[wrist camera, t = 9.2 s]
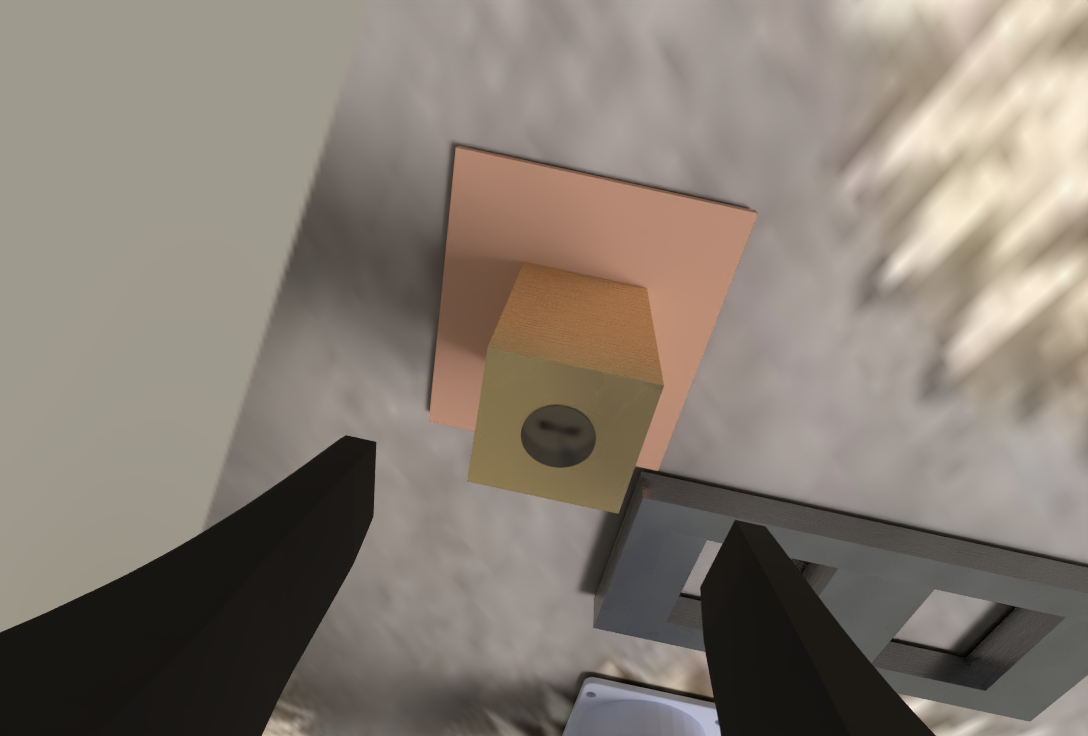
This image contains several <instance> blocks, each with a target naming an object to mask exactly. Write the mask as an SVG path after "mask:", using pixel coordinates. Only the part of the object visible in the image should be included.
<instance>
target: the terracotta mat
mask: <svg viewBox="0 0 1088 736" xmlns="http://www.w3.org/2000/svg"><path fill="white" fill-rule="evenodd" d="M757 215H758V213H757V212H756V211H755V210H751V209H747V208H742V207H738V206H733V205H729V204H724V203H719V202H715V201H710V200H706V199H701V198H696V197H692V196H687V195H683V194H678V193H674V192H669V191H664V190H660V189H655V188H651V187H646V186H642V185H637V184H632V183H628V182H623V181H619V180H614V179H609V178H605V177H600V176H596V175H591V174H587V173H582V172H577V171H573V170H568V169H564V168H559V167H555V166H550V165H545V164H541V163H536V162H532V161H527V160H522V159H518V158H513V157H509V156H504V155H500V154H495V153H490V152H486V151H481V150H477V149H472V148H468V147H463V146H458V147H456V151H455V161H454V171H453V181H452V191H451V201H450V212H449V222H448V232H447V242H446V252H445V262H444V273H443V283H442V293H441V303H440V313H439V323H438V333H437V344H436V354H435V364H434V374H433V384H432V394H431V405H430V415H429V422H434V423H438V424H443V425H448V426H452V427H457V428H462V429H466V430H471V431H475V428H476V421H477V414H478V408H479V401H480V395H481V388H482V381H483V375H484V368H485V362H486V355H487V348H488V345H489V343H490V341H491V338H492V336H493V334H494V331H495V329H496V327H497V324H498V322H499V319H500V317H501V315H502V312H503V310H504V308H505V305H506V303H507V301H508V298H509V296H510V294H511V291H512V289H513V286H514V284H515V282H516V279H517V277H518V275H519V272H520V270H521V268H522V265H523V263H524V262H529V263H533V264H538V265H543V266H547V267H552V268H557V269H561V270H566V271H571V272H575V273H580V274H584V275H589V276H594V277H598V278H603V279H608V280H612V281H617V282H622V283H626V284H631V285H635V286H640V287H645V288H647V291H648V297H649V303H650V308H651V314H652V320H653V325H654V331H655V337H656V342H657V348H658V354H659V359H660V365H661V370H662V376H663V382H664V387H663V390H662V393H661V396H660V399H659V401H658V404H657V407H656V410H655V413H654V415H653V418H652V421H651V424H650V427H649V429H648V432H647V435H646V438H645V441H644V443H643V446H642V449H641V452H640V455H639V458H638V460H637V463H636V466H637V467H642V468H647V469H651V470H656V471H658V469H659V467H660V464H661V462H662V459H663V456H664V454H665V451H666V449H667V446H668V444H669V441H670V438H671V436H672V433H673V431H674V428H675V426H676V423H677V420H678V418H679V415H680V413H681V410H682V408H683V405H684V402H685V400H686V397H687V395H688V392H689V390H690V387H691V384H692V382H693V379H694V377H695V374H696V371H697V369H698V366H699V364H700V361H701V359H702V356H703V353H704V351H705V348H706V346H707V343H708V341H709V338H710V335H711V333H712V330H713V328H714V325H715V323H716V320H717V317H718V315H719V312H720V310H721V307H722V305H723V302H724V299H725V297H726V294H727V292H728V289H729V287H730V284H731V281H732V279H733V276H734V274H735V271H736V269H737V266H738V263H739V261H740V258H741V256H742V253H743V251H744V248H745V245H746V243H747V240H748V238H749V235H750V233H751V230H752V227H753V225H754V222H755V220H756V217H757Z"/></svg>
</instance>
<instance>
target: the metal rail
mask: <svg viewBox="0 0 1088 736" xmlns="http://www.w3.org/2000/svg"><path fill="white" fill-rule="evenodd" d="M735 520H739V521H743V522H748V523H753V524H757V525H762V526H766V528H767V529H768V530H769V531H770V533H771V534H772V535H773V537H774V538H775V539H776V540H777V542H778V543H779V544H780V546H781V547H782V548H783V550H784V551H785V552H786V554H787V555H788V556H789V558H793V559H798V560H802V561H807V562H809V564H808V565H807V567H806V568H805V570H804V571H803V573H802V575H803V577H804V578H805V579H806V581H807V582H808V583H809V585H810V586H811V587H812V589H813V590H814V591H815V593H816V594H817V595H818V597H819V598H820V599H821V601H822V602H823V603H824V605H825V606H826V607H827V608H828V610H829V611H830V612H831V614H832V615H833V616H834V618H835V619H836V620H837V621H838V623H839V624H840V625H841V627H842V628H843V629H844V630H845V632H846V633H847V634H848V635H849V637H850V638H851V639H852V640H853V642H854V643H855V644H856V645H857V647H858V648H859V649H860V650H861V651H862V653H863V654H864V655H865V656H866V658H867V659H868V660H869V661H870V662H871V663H872V665H873V666H874V667H875V668H876V669H877V671H878V672H879V673H880V674H881V675H882V676H883V678H884V679H885V680H886V681H887V682H888V684H889V685H890V686H891V687H892V688H893V690H894V691H895V692H896V693H899V694H904V695H909V696H913V697H918V698H923V699H927V700H932V701H937V702H941V703H946V704H951V705H955V706H960V707H965V708H969V709H974V710H979V711H983V712H988V713H993V714H997V715H1002V716H1006V717H1011V718H1016V719H1020V720H1025V721H1031V720H1033V719H1034V718H1035V717H1036V716H1038V715H1039V714H1040V713H1041V712H1042V711H1044V710H1045V709H1046V708H1047V707H1049V706H1050V705H1051V704H1052V703H1054V702H1055V701H1056V700H1057V699H1059V698H1060V697H1061V696H1062V695H1063V694H1065V693H1066V692H1067V691H1068V690H1070V689H1071V688H1072V687H1073V686H1075V685H1076V684H1077V683H1078V682H1080V681H1081V680H1082V679H1083V678H1084V677H1086V676H1087V675H1088V568H1087V567H1082V566H1078V565H1073V564H1068V563H1064V562H1059V561H1055V560H1050V559H1045V558H1041V557H1036V556H1031V555H1027V554H1022V553H1018V552H1013V551H1008V550H1004V549H999V548H994V547H990V546H985V545H981V544H976V543H971V542H967V541H962V540H957V539H953V538H948V537H944V536H939V535H934V534H930V533H925V532H920V531H916V530H911V529H907V528H902V527H897V526H893V525H888V524H883V523H879V522H874V521H870V520H865V519H860V518H856V517H851V516H846V515H842V514H837V513H832V512H828V511H823V510H819V509H814V508H809V507H805V506H800V505H795V504H791V503H786V502H782V501H777V500H772V499H768V498H763V497H758V496H754V495H749V494H745V493H740V492H735V491H731V490H726V489H721V488H717V487H712V486H708V485H703V484H698V483H694V482H689V481H684V480H680V479H675V478H671V477H666V476H661V475H657V474H652V473H647V472H643V471H641V472H640V475H639V478H638V481H637V483H636V486H635V489H634V492H633V494H632V497H631V500H630V502H629V505H628V508H627V511H626V513H625V516H624V519H623V521H622V524H621V527H620V530H619V532H618V535H617V538H616V540H615V543H614V546H613V549H612V551H611V554H610V557H609V559H608V562H607V565H606V568H605V570H604V573H603V576H602V579H601V581H600V584H599V587H598V589H597V592H596V595H595V598H594V621H593V628H597V629H601V630H606V631H611V632H615V633H620V634H625V635H629V636H634V637H639V638H643V639H648V640H653V641H657V642H662V643H667V644H671V645H676V646H681V647H685V648H690V649H694V650H699V651H704V652H706V651H705V645H704V640H703V627H702V612H701V601H699V600H694V599H690V598H685V597H680V596H679V595H680V593H681V591H682V589H683V587H684V585H685V583H686V581H687V579H688V577H689V575H690V573H691V571H692V569H693V567H694V565H695V563H696V561H697V559H698V557H699V555H700V553H701V551H702V548H703V546H704V544H705V542H706V540H709V541H714V542H719V543H723V542H724V540H725V538H726V536H727V534H728V532H729V530H730V528H731V527H732V525H733V523H734V521H735ZM934 589H937V590H941V591H946V592H951V593H955V594H960V595H964V596H969V597H974V598H978V599H983V600H988V601H992V602H997V603H1002V604H1006V605H1011V606H1015V607H1016V608H1015V609H1014V610H1013V611H1012V612H1011V613H1010V614H1009V615H1008V616H1007V617H1006V618H1005V619H1004V620H1003V621H1002V622H1001V623H1000V624H999V625H998V626H997V627H996V628H995V629H994V630H993V631H992V632H991V633H990V634H989V635H988V636H987V637H986V638H985V639H984V640H983V641H982V642H981V643H980V644H979V645H978V646H977V647H976V648H975V649H974V650H973V651H972V652H971V653H970V654H969V655H968V656H967V657H966V658H964V657H959V656H955V655H950V654H945V653H941V652H936V651H931V650H927V649H922V648H917V647H913V646H908V645H904V644H899V643H894V642H890V641H891V639H892V638H893V637H894V636H895V635H896V634H897V632H898V631H899V630H900V629H901V628H902V627H903V625H904V624H905V623H906V622H907V621H908V620H909V618H910V617H911V616H912V615H913V614H914V613H915V611H916V610H917V609H918V608H919V607H920V606H921V604H922V603H923V602H924V601H925V600H926V599H927V597H928V596H929V595H930V594H931V593H932V592H933V590H934Z"/></svg>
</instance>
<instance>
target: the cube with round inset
mask: <svg viewBox="0 0 1088 736" xmlns="http://www.w3.org/2000/svg"><path fill="white" fill-rule="evenodd" d="M663 387H664V382H663V376H662V370H661V365H660V359H659V354H658V348H657V342H656V337H655V331H654V325H653V320H652V314H651V308H650V303H649V297H648V291H647V288H645V287H640V286H635V285H631V284H626V283H622V282H617V281H612V280H608V279H603V278H598V277H594V276H589V275H584V274H580V273H575V272H571V271H566V270H561V269H557V268H552V267H547V266H543V265H538V264H533V263H529V262H524V263H523V265H522V268H521V270H520V272H519V275H518V277H517V279H516V282H515V284H514V286H513V289H512V291H511V294H510V296H509V298H508V301H507V303H506V305H505V308H504V310H503V312H502V315H501V317H500V319H499V322H498V324H497V327H496V329H495V331H494V334H493V336H492V338H491V341H490V343H489V345H488V348H487V355H486V362H485V368H484V375H483V381H482V388H481V395H480V401H479V408H478V414H477V421H476V428H475V434H474V441H473V447H472V454H471V461H470V467H469V474H468V480H467V481H468V482H473V483H477V484H482V485H487V486H491V487H496V488H501V489H505V490H510V491H515V492H519V493H524V494H529V495H533V496H538V497H543V498H547V499H552V500H557V501H561V502H566V503H571V504H575V505H580V506H585V507H589V508H594V509H599V510H603V511H608V512H613V513H617V514H619V511H620V508H621V505H622V502H623V500H624V497H625V494H626V491H627V488H628V486H629V483H630V480H631V477H632V474H633V472H634V469H635V466H636V463H637V460H638V458H639V455H640V452H641V449H642V446H643V443H644V441H645V438H646V435H647V432H648V429H649V427H650V424H651V421H652V418H653V415H654V413H655V410H656V407H657V404H658V401H659V399H660V396H661V393H662V390H663Z"/></svg>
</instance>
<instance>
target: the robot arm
mask: <svg viewBox="0 0 1088 736" xmlns="http://www.w3.org/2000/svg"><path fill="white" fill-rule="evenodd" d="M375 462H376V442H374V441H370V440H365V439H360V438H356V437H351V436H347V435H346V436H344V437H342V438H341V439H339V440H338V441H337V442H335V443H334V444H332V445H331V446H330V447H328V448H327V449H326V450H324V451H323V452H321V453H320V454H319V455H317V456H316V457H315V458H313V459H312V460H310V461H309V462H308V463H306V464H305V465H304V466H302V467H301V468H299V469H298V470H297V471H295V472H294V473H292V474H291V475H290V476H288V477H287V478H285V479H284V480H282V481H281V482H280V483H278V484H277V485H275V486H274V487H272V488H271V489H269V490H268V491H266V492H265V493H263V494H262V495H261V496H259V497H258V498H256V499H255V500H253V501H252V502H250V503H249V504H247V505H246V506H244V507H243V508H241V509H239V510H238V511H236V512H235V513H233V514H231V515H230V516H228V517H227V518H225V519H223V520H222V521H220V522H219V523H217V524H215V525H214V526H212V527H210V528H209V529H207V530H206V531H204V532H202V533H201V534H199V535H197V536H196V537H194V538H192V539H191V540H189V541H187V542H185V543H184V544H182V545H181V546H179V547H177V548H175V549H173V550H171V551H170V552H168V553H166V554H164V555H163V556H161V557H159V558H157V559H155V560H153V561H151V562H149V563H148V564H146V565H144V566H142V567H140V568H138V569H137V570H134V571H133V572H131V573H129V574H127V575H125V576H123V577H121V578H119V579H117V580H115V581H112V582H110V583H108V584H106V585H104V586H102V587H100V588H98V589H96V590H94V591H92V592H89V593H87V594H85V595H83V596H81V597H79V598H77V599H74V600H72V601H70V602H68V603H66V604H64V605H62V606H60V607H58V608H55V609H53V610H51V611H49V612H47V613H45V614H42V615H40V616H38V617H36V618H33V619H31V620H29V621H26V622H24V623H21V624H19V625H17V626H14V627H12V628H10V629H8V630H5V631H3V632H1V633H0V736H262V734H263V732H264V729H265V727H266V725H267V723H268V721H269V719H270V716H271V714H272V712H273V710H274V708H275V705H276V703H277V701H278V699H279V697H280V695H281V693H282V691H283V689H284V687H285V685H286V683H287V682H288V680H289V678H290V676H291V674H292V672H293V670H294V668H295V667H296V665H297V663H298V661H299V660H300V658H301V656H302V654H303V653H304V651H305V649H306V647H307V646H308V644H309V642H310V640H311V638H312V637H313V635H314V633H315V631H316V630H317V628H318V626H319V624H320V623H321V621H322V619H323V617H324V616H325V614H326V612H327V610H328V608H329V607H330V605H331V603H332V601H333V600H334V598H335V596H336V594H337V593H338V591H339V589H340V587H341V585H342V584H343V582H344V580H345V578H346V576H347V575H348V573H349V571H350V569H351V567H352V566H353V564H354V561H355V559H356V557H357V554H358V552H359V550H360V548H361V545H362V543H363V541H364V538H365V536H366V533H367V531H368V528H369V526H370V523H371V521H372V519H373V513H374V487H375ZM700 590H701V612H702V627H703V640H704V645H705V651H706V657H707V663H708V668H709V674H710V679H711V685H712V690H713V695H714V701H715V703H713V702H708V701H703V700H699V699H694V698H689V697H685V696H680V695H675V694H671V693H666V692H661V691H657V690H652V689H647V688H643V687H638V686H633V685H629V684H624V683H619V682H615V681H610V680H605V679H601V678H596V677H589V678H586V679H585V680H584V682H583V685H582V687H581V690H580V692H579V695H578V697H577V700H576V702H575V705H574V707H573V710H572V712H571V715H570V717H569V720H568V722H567V725H566V727H565V730H564V732H563V734H562V736H936V735H935V734H934V733H933V732H932V731H931V730H930V729H929V728H928V727H927V726H926V725H925V724H924V723H923V722H922V721H921V720H920V718H919V717H918V716H917V715H916V714H915V713H914V712H913V711H912V710H911V709H910V708H909V706H908V705H907V704H906V703H905V702H904V701H903V700H902V699H901V697H900V696H899V695H898V694H897V693H896V692H895V691H894V690H893V688H892V687H891V686H890V685H889V684H888V682H887V681H886V680H885V679H884V678H883V676H882V675H881V674H880V673H879V672H878V671H877V669H876V668H875V667H874V666H873V665H872V663H871V662H870V661H869V660H868V659H867V658H866V656H865V655H864V654H863V653H862V651H861V650H860V649H859V648H858V647H857V645H856V644H855V643H854V642H853V640H852V639H851V638H850V637H849V635H848V634H847V633H846V632H845V630H844V629H843V628H842V627H841V625H840V624H839V623H838V621H837V620H836V619H835V618H834V616H833V615H832V614H831V612H830V611H829V610H828V608H827V607H826V606H825V605H824V603H823V602H822V601H821V599H820V598H819V597H818V595H817V594H816V593H815V591H814V590H813V589H812V587H811V586H810V585H809V583H808V582H807V581H806V579H805V578H804V577H803V575H802V574H801V573H800V571H799V570H798V569H797V567H796V566H795V565H794V563H793V562H792V560H791V559H790V558H789V556H788V555H787V554H786V552H785V551H784V550H783V548H782V547H781V546H780V544H779V543H778V542H777V540H776V539H775V538H774V537H773V535H772V534H771V533H770V531H769V530H768V529H767V528H766V526H762V525H757V524H753V523H748V522H743V521H739V520H735V521H734V523H733V525H732V527H731V528H730V530H729V532H728V534H727V536H726V538H725V540H724V542H723V544H722V546H721V548H720V550H719V552H718V554H717V556H716V558H715V560H714V562H713V564H712V566H711V567H710V569H709V571H708V573H707V575H706V577H705V579H704V581H703V583H702V585H701V587H700Z"/></svg>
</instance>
